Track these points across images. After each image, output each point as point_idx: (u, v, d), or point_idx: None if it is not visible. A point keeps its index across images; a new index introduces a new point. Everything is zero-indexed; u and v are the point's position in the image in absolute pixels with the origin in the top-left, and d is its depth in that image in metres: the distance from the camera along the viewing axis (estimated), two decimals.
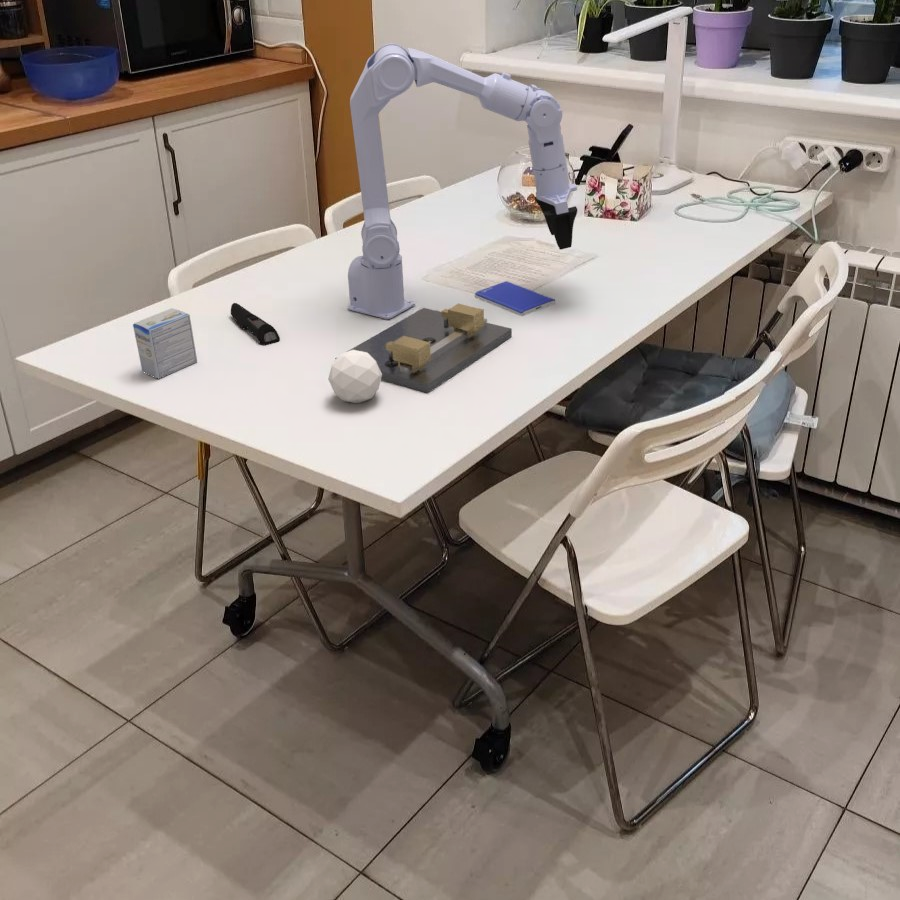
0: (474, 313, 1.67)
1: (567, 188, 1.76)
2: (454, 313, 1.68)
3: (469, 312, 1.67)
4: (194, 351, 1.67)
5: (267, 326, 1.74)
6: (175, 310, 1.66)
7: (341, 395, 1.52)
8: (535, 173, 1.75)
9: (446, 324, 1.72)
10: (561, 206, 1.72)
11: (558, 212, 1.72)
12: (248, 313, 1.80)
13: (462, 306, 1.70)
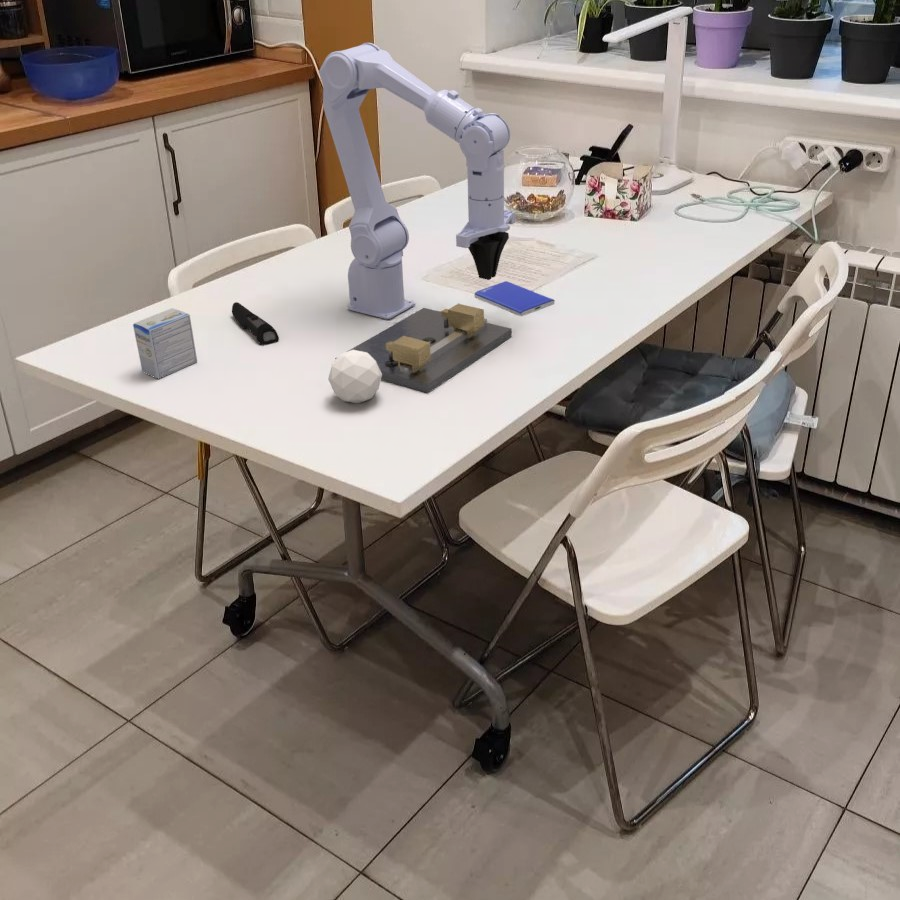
0: (474, 313, 1.67)
1: (491, 226, 1.64)
2: (454, 313, 1.68)
3: (469, 312, 1.67)
4: (194, 351, 1.67)
5: (266, 326, 1.74)
6: (175, 310, 1.66)
7: (341, 395, 1.52)
8: None
9: (446, 324, 1.72)
10: (460, 239, 1.62)
11: (457, 244, 1.63)
12: (248, 312, 1.80)
13: (462, 306, 1.70)
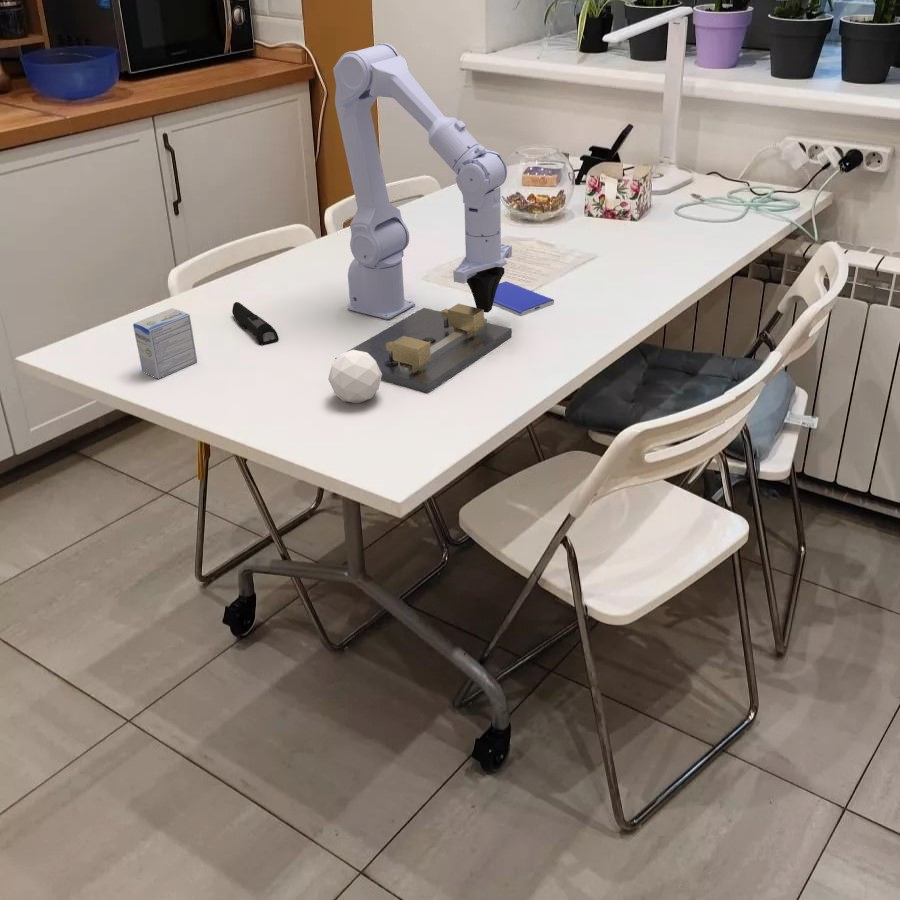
0: (474, 313, 1.67)
1: (488, 261, 1.66)
2: (454, 313, 1.68)
3: (469, 312, 1.67)
4: (194, 351, 1.67)
5: (266, 326, 1.74)
6: (175, 310, 1.66)
7: (341, 395, 1.52)
8: (465, 234, 1.68)
9: (446, 324, 1.72)
10: (458, 275, 1.64)
11: (455, 280, 1.65)
12: (249, 312, 1.80)
13: (462, 306, 1.70)
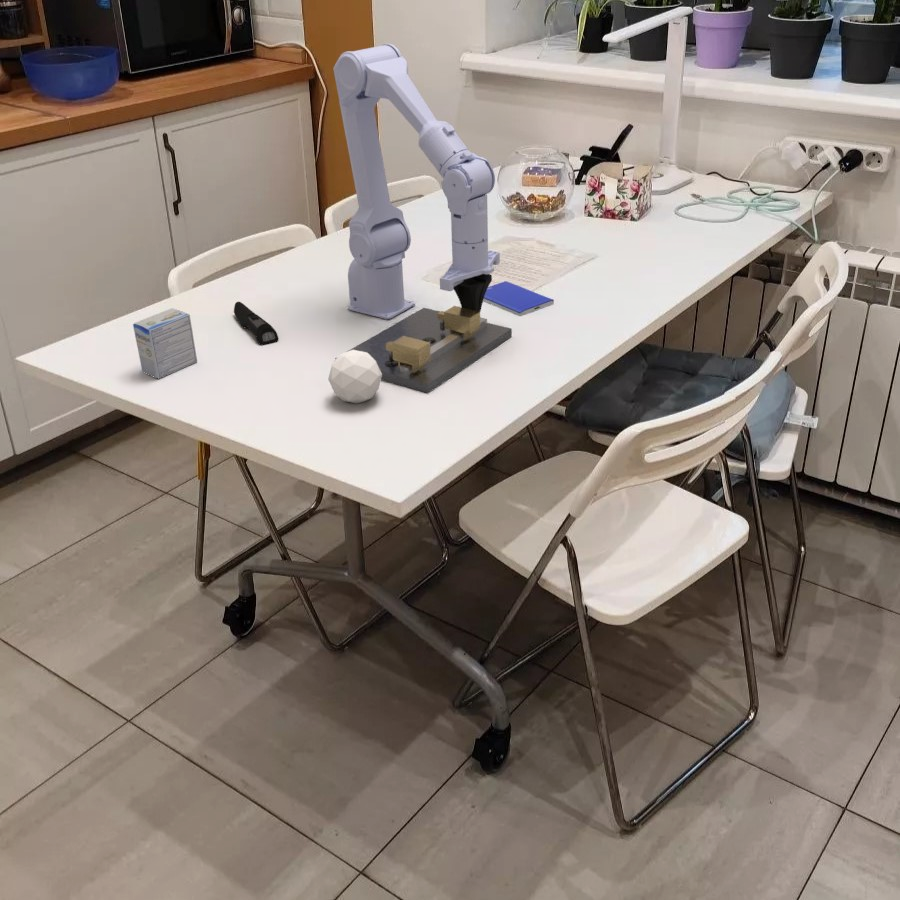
0: (470, 315, 1.66)
1: (475, 268, 1.64)
2: (450, 315, 1.68)
3: (465, 314, 1.67)
4: (194, 351, 1.67)
5: (266, 326, 1.74)
6: (175, 310, 1.66)
7: (341, 395, 1.52)
8: None
9: (442, 326, 1.71)
10: (444, 283, 1.61)
11: (441, 287, 1.62)
12: (249, 312, 1.80)
13: (459, 308, 1.69)
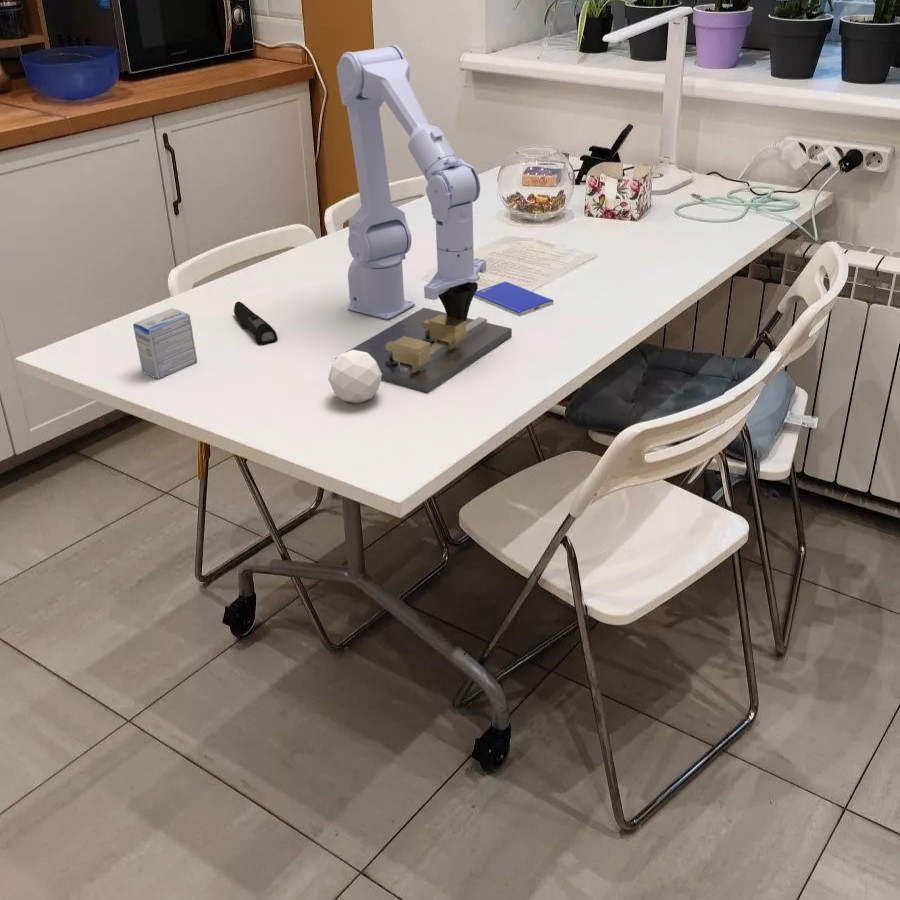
0: (456, 324, 1.63)
1: (460, 276, 1.61)
2: (435, 324, 1.65)
3: (451, 323, 1.64)
4: (194, 351, 1.67)
5: (265, 326, 1.74)
6: (175, 310, 1.66)
7: (341, 395, 1.52)
8: (437, 248, 1.62)
9: (428, 335, 1.68)
10: (428, 291, 1.59)
11: (425, 296, 1.59)
12: (249, 312, 1.80)
13: (444, 316, 1.66)
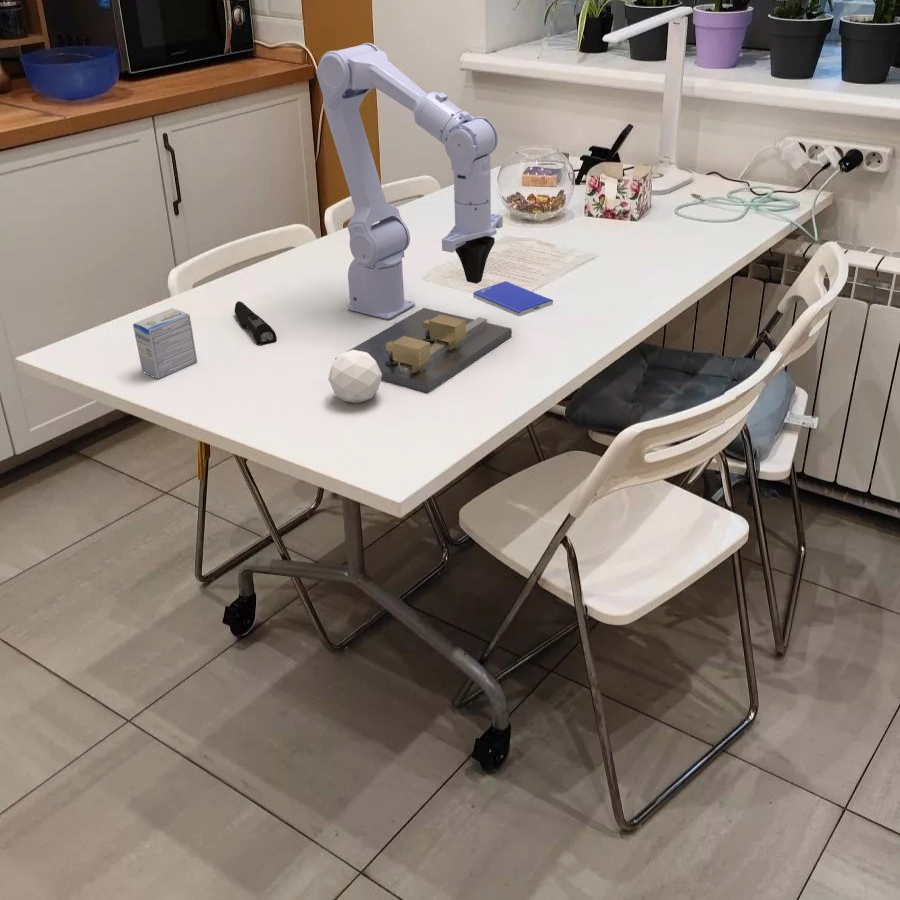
0: (456, 324, 1.63)
1: (478, 230, 1.63)
2: (435, 324, 1.65)
3: (451, 323, 1.64)
4: (194, 351, 1.67)
5: (264, 326, 1.74)
6: (175, 310, 1.66)
7: (341, 395, 1.52)
8: (454, 202, 1.64)
9: (428, 335, 1.68)
10: (446, 244, 1.61)
11: (443, 249, 1.62)
12: (249, 312, 1.80)
13: (444, 316, 1.66)
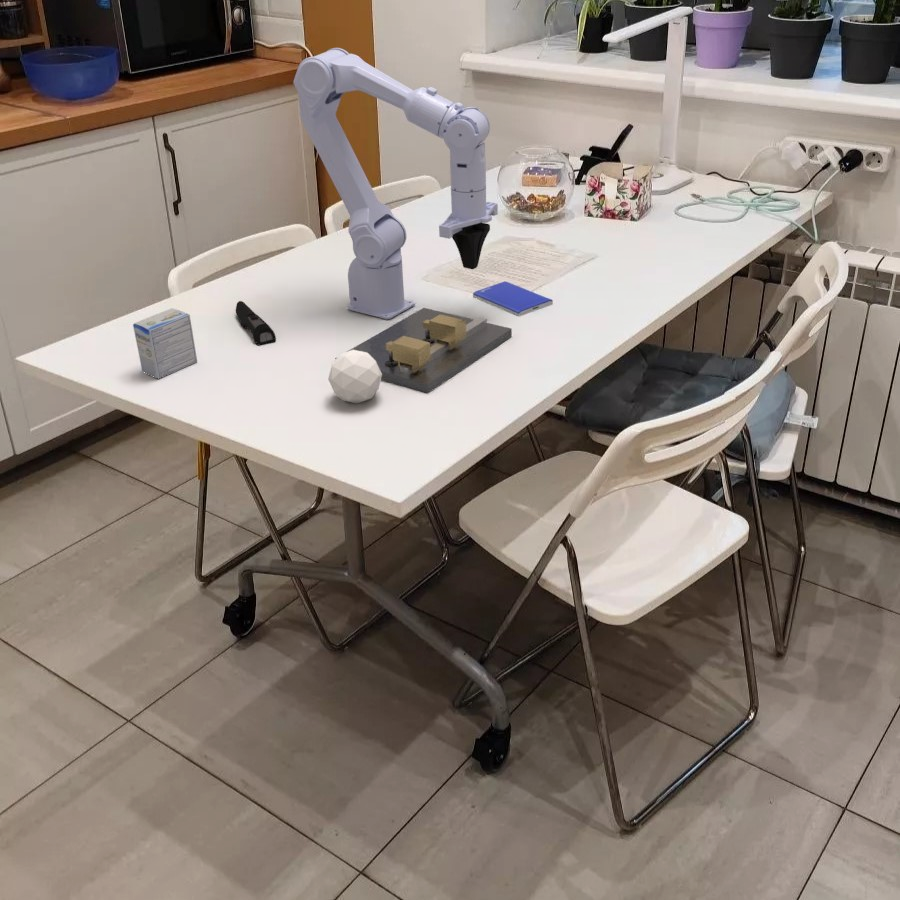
0: (456, 324, 1.63)
1: (473, 217, 1.69)
2: (435, 324, 1.65)
3: (451, 323, 1.64)
4: (194, 351, 1.67)
5: (264, 326, 1.74)
6: (175, 310, 1.66)
7: (341, 395, 1.52)
8: None
9: (428, 335, 1.68)
10: (443, 230, 1.66)
11: (440, 235, 1.67)
12: (249, 312, 1.80)
13: (444, 316, 1.66)
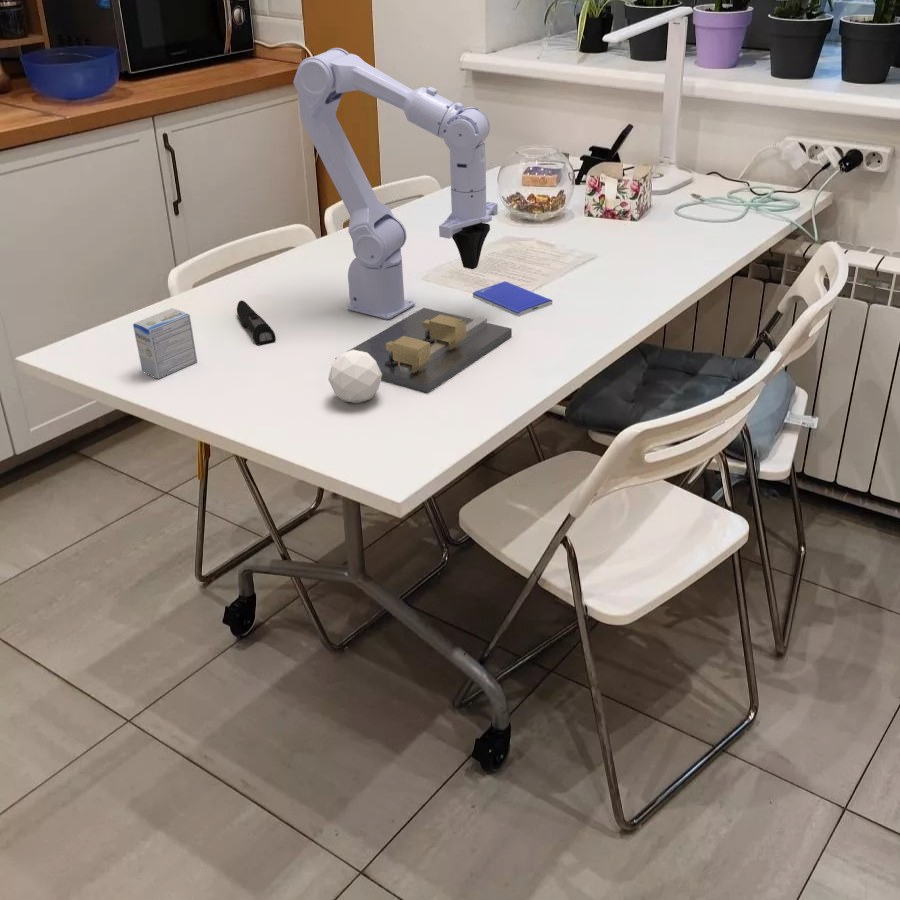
0: (456, 324, 1.63)
1: (473, 217, 1.69)
2: (435, 324, 1.65)
3: (451, 323, 1.64)
4: (194, 351, 1.67)
5: (264, 326, 1.74)
6: (175, 310, 1.66)
7: (341, 395, 1.52)
8: None
9: (428, 335, 1.68)
10: (443, 230, 1.66)
11: (440, 235, 1.67)
12: (250, 312, 1.80)
13: (444, 316, 1.66)
